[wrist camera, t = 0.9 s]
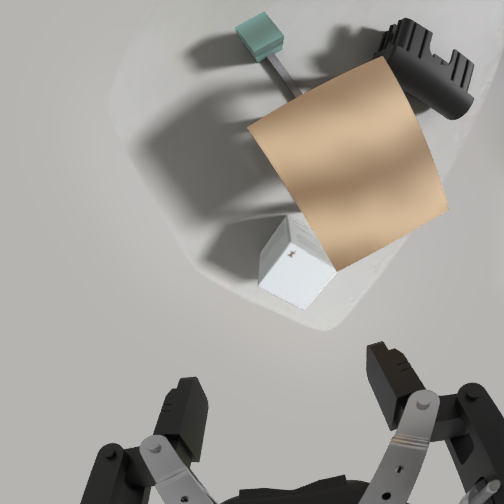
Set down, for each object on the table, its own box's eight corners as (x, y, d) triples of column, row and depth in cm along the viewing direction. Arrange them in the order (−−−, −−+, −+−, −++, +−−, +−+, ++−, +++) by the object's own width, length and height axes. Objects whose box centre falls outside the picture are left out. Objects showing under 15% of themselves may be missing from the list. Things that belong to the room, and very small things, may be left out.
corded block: (234, 47, 24) (225, 33, 19) (274, 25, 23) (274, 6, 17) (319, 174, 30) (329, 188, 25) (357, 153, 29) (375, 163, 24)
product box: (258, 252, 35) (254, 286, 29) (286, 212, 33) (289, 240, 26) (299, 275, 37) (303, 311, 30) (328, 239, 34) (340, 271, 28)
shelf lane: (258, 121, 28) (246, 127, 16) (339, 76, 25) (382, 55, 13) (314, 211, 32) (336, 271, 21) (389, 170, 29) (449, 209, 18)
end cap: (363, 77, 25) (386, 70, 19) (380, 28, 21) (404, 12, 15) (435, 118, 26) (467, 123, 20) (450, 71, 22) (482, 68, 16)
